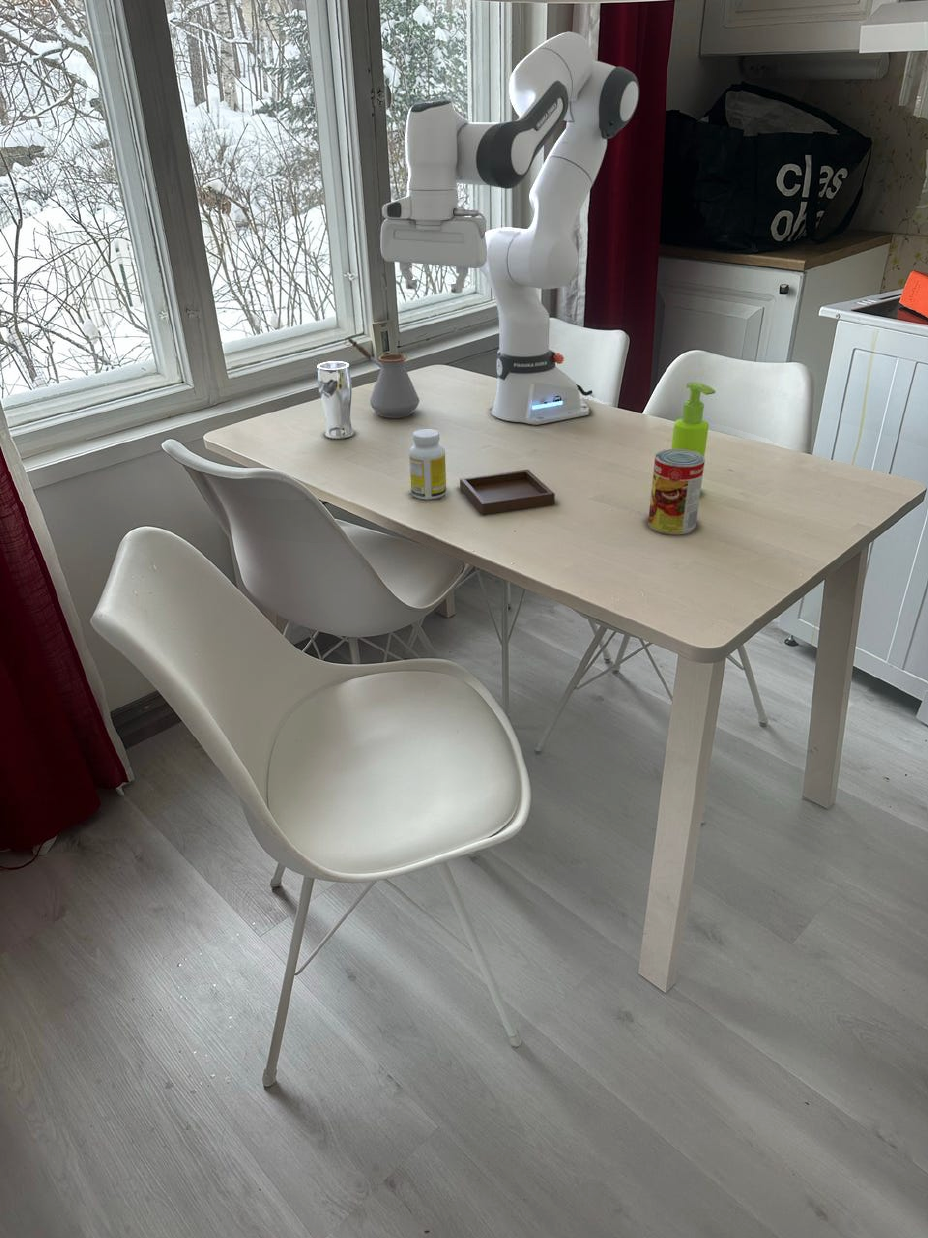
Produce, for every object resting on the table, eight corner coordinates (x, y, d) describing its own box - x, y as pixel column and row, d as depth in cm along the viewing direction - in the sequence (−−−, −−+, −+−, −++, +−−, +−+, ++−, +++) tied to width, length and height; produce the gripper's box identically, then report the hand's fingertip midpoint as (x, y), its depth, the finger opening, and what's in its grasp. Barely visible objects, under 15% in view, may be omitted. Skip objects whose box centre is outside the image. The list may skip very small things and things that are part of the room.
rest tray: (527, 479, 163) (528, 469, 162) (554, 504, 153) (554, 493, 152) (460, 489, 160) (459, 478, 159) (482, 515, 150) (482, 503, 148)
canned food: (657, 511, 150) (664, 445, 144) (701, 520, 146) (711, 453, 140) (641, 528, 144) (648, 460, 138) (687, 538, 140) (696, 468, 134)
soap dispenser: (684, 503, 153) (698, 391, 142) (659, 490, 158) (671, 381, 148) (709, 497, 155) (725, 386, 145) (684, 484, 160) (698, 377, 150)
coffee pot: (430, 412, 200) (427, 346, 193) (393, 423, 193) (389, 356, 186) (369, 394, 213) (365, 332, 205) (333, 405, 206) (327, 341, 198)
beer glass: (353, 439, 184) (347, 369, 177) (320, 439, 185) (313, 369, 177) (357, 429, 190) (351, 360, 183) (326, 429, 191) (319, 361, 183)
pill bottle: (451, 489, 160) (449, 428, 154) (439, 502, 154) (437, 440, 148) (418, 485, 162) (416, 425, 156) (405, 498, 156) (402, 437, 150)
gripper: (494, 208, 148) (492, 292, 155) (392, 203, 156) (395, 284, 163) (477, 211, 143) (477, 298, 150) (374, 206, 151) (378, 289, 158)
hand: (433, 290), depth 157 cm, fingers open, 8 cm apart
